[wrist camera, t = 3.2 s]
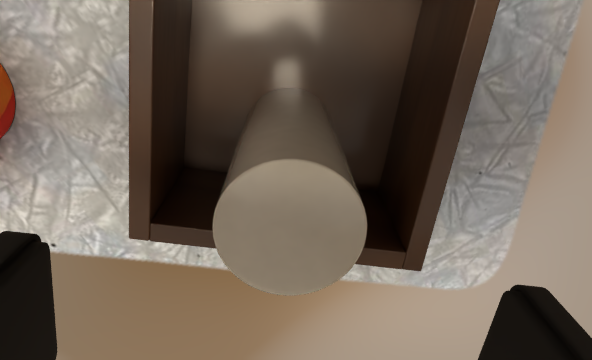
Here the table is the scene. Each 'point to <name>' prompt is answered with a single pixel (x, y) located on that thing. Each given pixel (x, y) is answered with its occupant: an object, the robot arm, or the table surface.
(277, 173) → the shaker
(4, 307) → the robot arm
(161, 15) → the chest
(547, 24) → the table surface
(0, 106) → the coffee cup
